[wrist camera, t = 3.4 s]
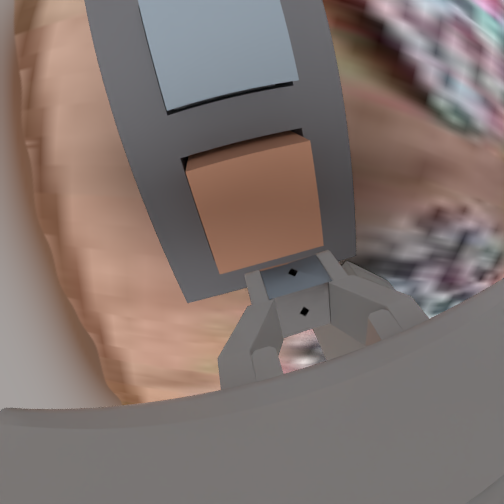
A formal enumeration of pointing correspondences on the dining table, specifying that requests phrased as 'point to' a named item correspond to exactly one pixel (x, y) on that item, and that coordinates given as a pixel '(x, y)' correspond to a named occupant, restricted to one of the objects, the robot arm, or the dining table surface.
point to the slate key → (216, 47)
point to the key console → (224, 135)
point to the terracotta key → (257, 199)
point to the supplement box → (335, 339)
